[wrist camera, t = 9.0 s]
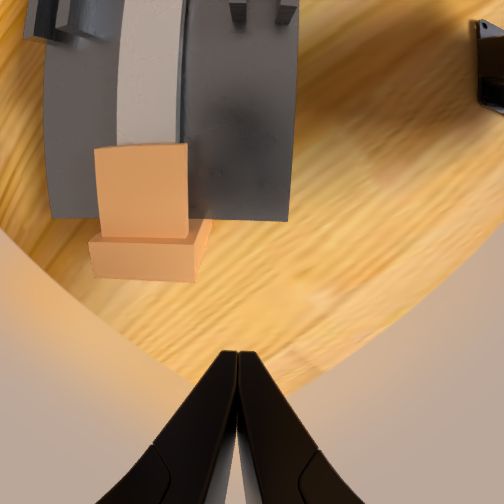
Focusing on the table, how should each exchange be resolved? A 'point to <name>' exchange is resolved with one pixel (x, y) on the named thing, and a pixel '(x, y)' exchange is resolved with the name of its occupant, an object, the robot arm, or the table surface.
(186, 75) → the slotted grey stand
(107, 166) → the tan piece
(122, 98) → the strap
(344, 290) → the table surface
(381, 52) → the table surface
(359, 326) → the table surface
